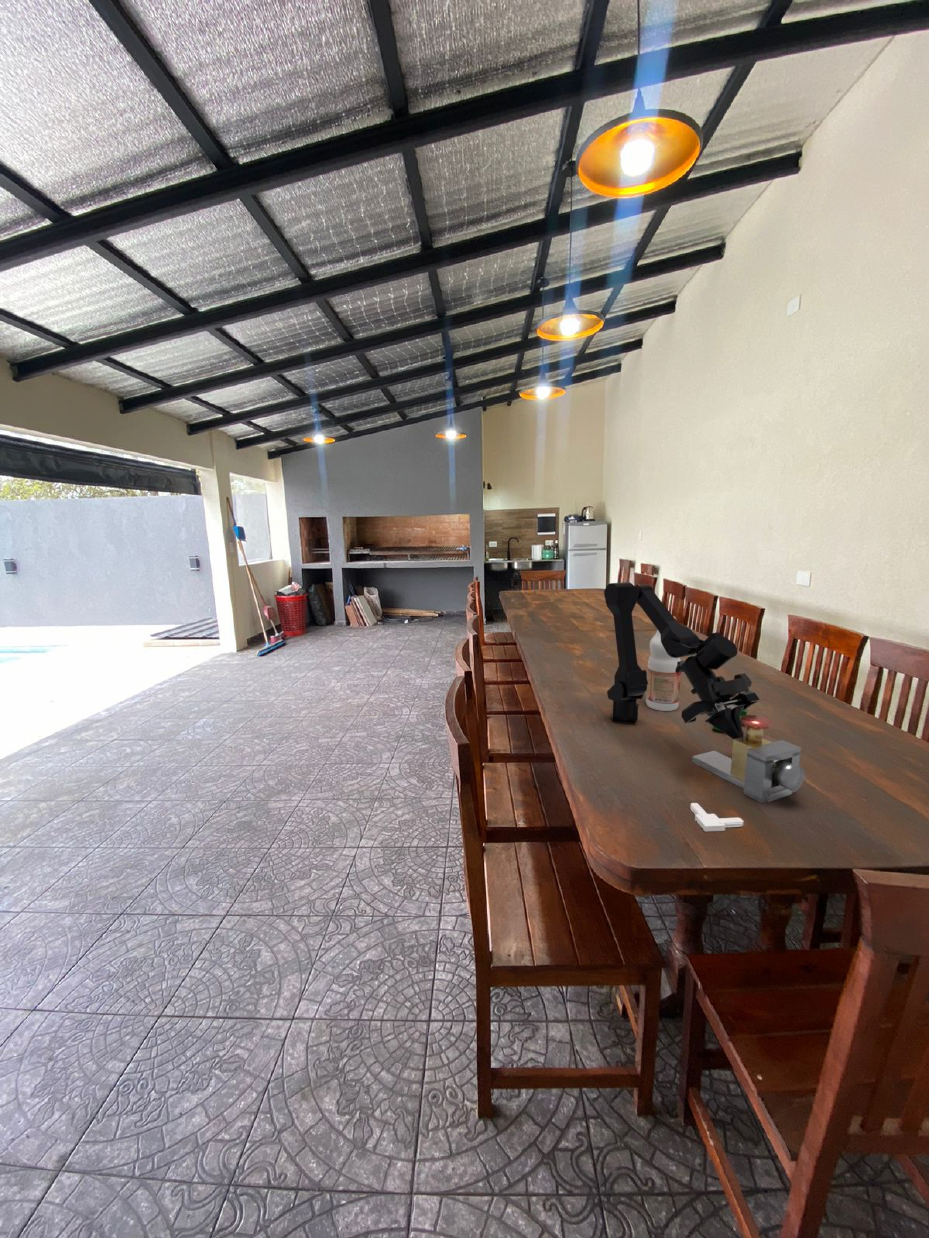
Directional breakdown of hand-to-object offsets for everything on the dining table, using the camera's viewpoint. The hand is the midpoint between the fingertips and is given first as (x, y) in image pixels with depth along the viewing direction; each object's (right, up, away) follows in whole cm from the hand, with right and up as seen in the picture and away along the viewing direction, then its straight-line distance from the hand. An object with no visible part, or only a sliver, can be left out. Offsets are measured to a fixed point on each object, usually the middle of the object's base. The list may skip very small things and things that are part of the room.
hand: (741, 742), depth 109 cm
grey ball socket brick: (+1, -8, 0) cm, 8 cm away
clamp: (+12, -3, +29) cm, 31 cm away
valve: (+2, -7, -2) cm, 8 cm away
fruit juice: (0, 0, +45) cm, 45 cm away
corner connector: (-13, -12, -13) cm, 22 cm away
